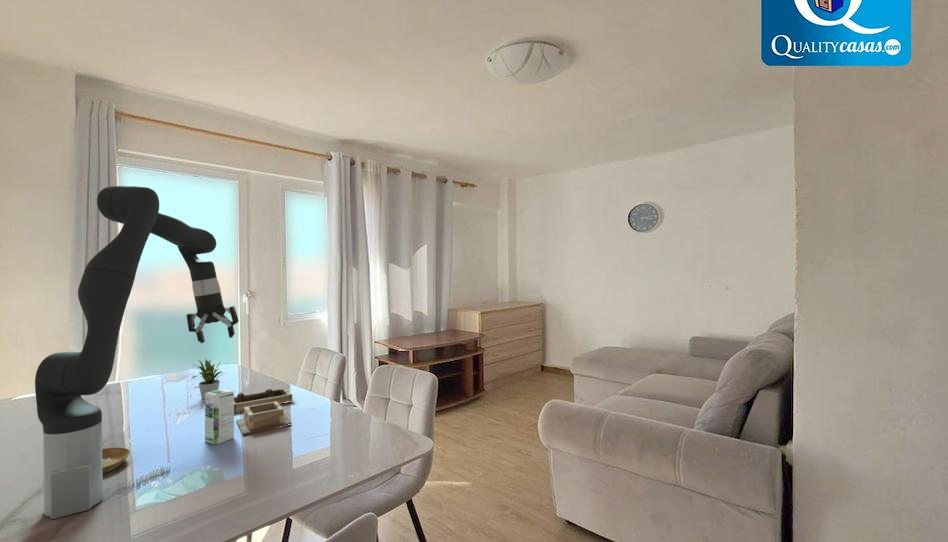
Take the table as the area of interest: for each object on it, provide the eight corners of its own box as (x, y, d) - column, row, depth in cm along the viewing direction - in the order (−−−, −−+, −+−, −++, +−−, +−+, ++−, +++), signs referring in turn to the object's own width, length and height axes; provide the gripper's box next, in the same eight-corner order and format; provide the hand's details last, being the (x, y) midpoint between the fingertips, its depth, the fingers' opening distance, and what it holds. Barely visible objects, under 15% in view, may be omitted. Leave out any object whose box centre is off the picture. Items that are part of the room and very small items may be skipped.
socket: (291, 425, 136) (291, 409, 136) (242, 436, 127) (242, 418, 127) (281, 413, 147) (281, 398, 147) (236, 422, 139) (236, 406, 139)
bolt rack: (292, 402, 159) (292, 394, 159) (232, 413, 147) (232, 405, 147) (285, 395, 168) (285, 388, 168) (228, 405, 156) (228, 397, 156)
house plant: (175, 401, 161) (174, 359, 161) (207, 391, 174) (207, 352, 174) (203, 405, 157) (203, 361, 157) (234, 394, 170) (234, 354, 170)
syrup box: (203, 441, 123) (203, 393, 123) (223, 434, 129) (223, 387, 128) (215, 445, 121) (214, 395, 121) (235, 438, 126) (234, 390, 126)
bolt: (280, 383, 163) (237, 390, 153) (284, 392, 160) (240, 400, 150) (278, 394, 166) (236, 402, 156) (282, 403, 162) (238, 411, 152)
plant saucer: (133, 469, 107) (133, 459, 107) (51, 491, 97) (51, 480, 97) (127, 451, 118) (127, 442, 117) (53, 469, 107) (53, 459, 107)
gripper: (178, 298, 132) (189, 347, 134) (228, 290, 136) (238, 338, 138) (186, 295, 139) (196, 341, 141) (233, 287, 144) (243, 333, 146)
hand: (217, 339), depth 140 cm, fingers open, 8 cm apart
